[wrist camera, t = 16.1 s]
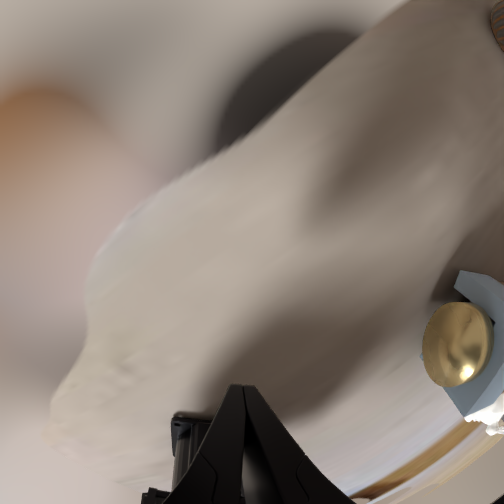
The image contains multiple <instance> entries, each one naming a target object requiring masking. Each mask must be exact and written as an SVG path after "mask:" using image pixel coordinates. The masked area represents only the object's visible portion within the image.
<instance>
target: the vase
mask: <svg viewBox="0 0 504 504" xmlns="http://www.w3.org/2000/svg"><path fill="white" fill-rule="evenodd" d="M491 27H492V31H493V33H494V36H495V38H496V40H497V42H498V44H499V45H500V47H501V49H502V50H503V51H504V0H499V1H498V2H497V3H496V4H495V5H494V7H493V9H492V13H491Z"/></svg>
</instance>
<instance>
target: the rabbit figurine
mask: <svg viewBox="0 0 504 504" xmlns="http://www.w3.org/2000/svg"><path fill="white" fill-rule="evenodd" d="M503 415H504V393H503V394H501V395H500V396H499V397H498V398H497V400H496V401H495V402H494V404H492V405H490V406H488V407H486V408H484V409H481V410H479V411H477V412H475V413H473V414H470V415H468V416H466V417H464V418H465V420H466V421H467V422H470V421H472V420H474V422H475V421H482V422H483V423H485V424H488V427H487V428H486V432H487V433H488V434H489V435H491V436H492V435H494V434H496V433H499V434H504V426H501V427H499V420H500V419H501V418H502V416H503Z"/></svg>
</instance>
